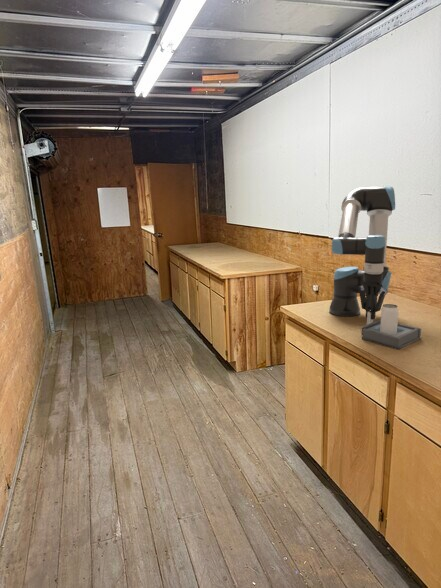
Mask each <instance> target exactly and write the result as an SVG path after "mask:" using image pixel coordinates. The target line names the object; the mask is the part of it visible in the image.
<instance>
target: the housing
mask: <svg viewBox="0 0 441 588" xmlns="http://www.w3.org/2000/svg"><path fill="white" fill-rule="evenodd" d="M397 326H400V327H404V328H408V329H412V330H411V331H409V332H407V333H405V334H402V335H400V336H398V337H395V336H391V335H388V334H384V333H380V332H376V331H372V330H369V329H363V335H362V336H361V340H363V341H367V342H369V343H373V344H377V345H381V346H384V347H387V348H390V349H391V348H392V349H393V350H394V349H395V350H397V351H398V350H401V349H403V348H406V347H407V346H409V345H411V344H413V343H415V342H417V341H419V340H421V336H422V328H420V327H417V326H412V325H408V324H404V323H399V322H398V324H397Z"/></svg>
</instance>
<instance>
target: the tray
mask: <svg viewBox="0 0 441 588" xmlns="http://www.w3.org/2000/svg"><path fill="white" fill-rule="evenodd" d="M380 324H381V319H379V320H376V321H373V323H371V324H368V325H367V324H366V325H363V326H362V327H361V336H363V329H369V330H372V331H376V332H380ZM411 330H412V329H408V328H404V327H400V326H397V334H395V335H391V334H388V333H384V332H380V333H384V334H388V335H391V336H395V337H398V336H400V335H402V334H405V333H407V332H409V331H411Z"/></svg>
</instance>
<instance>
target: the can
mask: <svg viewBox="0 0 441 588" xmlns="http://www.w3.org/2000/svg"><path fill="white" fill-rule="evenodd" d="M380 311H381V312H380V313H381V314H380V320H381V324H380V332H384V333H388V334H391V335H395V334H397V324H398V323H399V322H398V321H399V308H398V305H396V304H394V303H393V304H392V303H385V304H382V306H381V309H380Z"/></svg>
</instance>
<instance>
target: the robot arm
mask: <svg viewBox="0 0 441 588" xmlns="http://www.w3.org/2000/svg"><path fill="white" fill-rule="evenodd" d="M340 207H341V212H342V213H341V219H340V225H339V229H338V230H339V231H338V235H337V236H336V237H333V238H332V239H331V253H332V254H333V255H340V256H341V255H342V256H344V255H347V256H348V255H352V256H353V255H356V256H364V262H363V263H364V264H363V265H364V266H363V268H362V270H361V269H359V267H358V266H345V267H340V268H337V269H336V270H335V271H334V274H333V296H332V300H331V303H330V306H329V308H328V309H329V313H330V314H332V315H335V316H339V317H355V316H359V315H360V314H361V309H362V310H364V311H365V319H366V325H368V324H371V323H373V322H374V320H375V319H376V313H377V312H380V311H381V310H382V307H383V303H384V299H385V297H386V295H387V294H388V293H389V291H388V290H389V287H390V282H391V277H392V271H390V270H389V266H388V265H387V264H386V261H387V259H386V258H387V257H386V256H387V243H388V242H387V241H388V227H389V217H390V216H391V215H392V214H393V211H395V210H396V194H395V189H394V187H393V186H391V185H390V186H387V185H386V186H385V185H383V186H382V185H381V186H367V187H366V186H362V187H357V188H355V189H354V190H353V189H352V191H350V192H349V193H348V194H347V195H345V197H344V198H343V201H342V202H341V206H340ZM361 211H364V212H366V214H367V216H368V217H369V225H368V235H367V236H366V237H356V235H357V228H358V218H359V213H360V212H361ZM358 294H359V299H360V304H359V300H358ZM360 306H361V307H360Z"/></svg>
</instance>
